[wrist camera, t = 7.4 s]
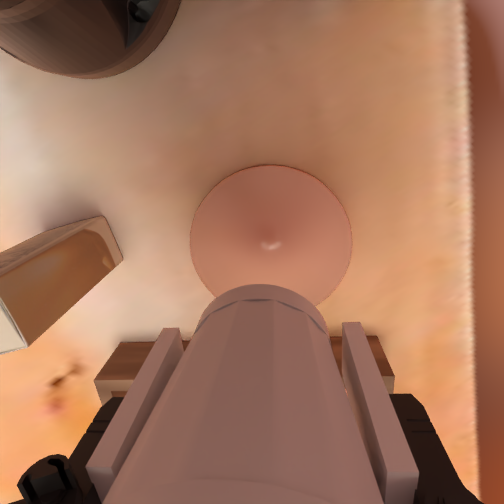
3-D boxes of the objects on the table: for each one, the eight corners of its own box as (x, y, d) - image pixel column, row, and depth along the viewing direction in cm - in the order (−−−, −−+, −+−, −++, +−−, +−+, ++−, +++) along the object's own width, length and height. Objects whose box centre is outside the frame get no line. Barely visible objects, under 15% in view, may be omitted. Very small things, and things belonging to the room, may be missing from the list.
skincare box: (65, 275, 30) (-67, 370, 18) (41, 231, 28) (-118, 306, 17) (128, 259, 29) (29, 352, 17) (107, 213, 27) (-17, 280, 16)
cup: (252, 230, 14) (122, 739, 2) (384, 341, 15) (678, 972, 4) (148, 344, 16) (-140, 832, 5) (269, 428, 18) (248, 949, 7)
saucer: (179, 172, 25) (176, 174, 25) (351, 157, 24) (354, 159, 23) (204, 315, 30) (202, 320, 29) (348, 310, 29) (350, 315, 28)
